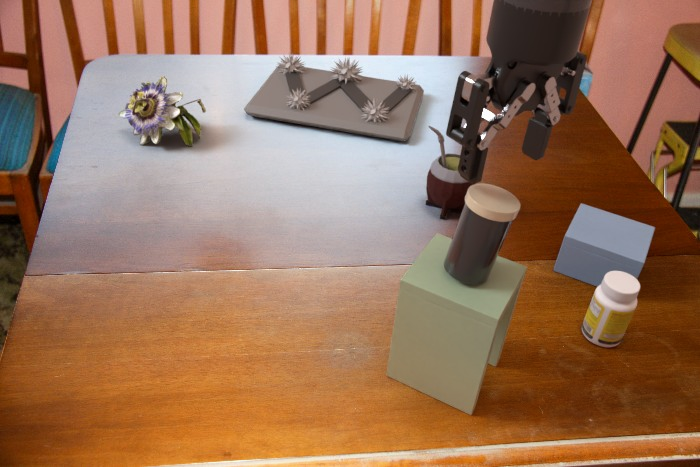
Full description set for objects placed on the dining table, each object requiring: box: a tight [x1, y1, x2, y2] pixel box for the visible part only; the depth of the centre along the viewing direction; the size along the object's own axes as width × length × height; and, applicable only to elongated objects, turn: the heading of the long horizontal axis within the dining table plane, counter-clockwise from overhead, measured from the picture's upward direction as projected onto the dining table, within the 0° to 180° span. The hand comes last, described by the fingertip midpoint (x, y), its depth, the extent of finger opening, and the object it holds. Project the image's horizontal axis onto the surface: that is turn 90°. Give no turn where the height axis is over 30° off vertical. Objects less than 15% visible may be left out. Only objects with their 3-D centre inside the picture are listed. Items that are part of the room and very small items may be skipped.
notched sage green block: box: [385, 233, 528, 416], centre depth 69 cm, size 10×9×14 cm
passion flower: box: [118, 75, 207, 147], centre depth 108 cm, size 11×11×12 cm
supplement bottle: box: [581, 271, 641, 348], centre depth 76 cm, size 5×5×8 cm
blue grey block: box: [553, 203, 656, 288], centre depth 88 cm, size 10×9×6 cm
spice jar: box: [444, 182, 521, 285], centre depth 62 cm, size 5×5×8 cm
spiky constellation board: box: [243, 53, 425, 142], centre depth 121 cm, size 30×22×7 cm
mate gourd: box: [425, 125, 474, 221], centre depth 93 cm, size 8×8×15 cm
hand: (501, 167), depth 62 cm, fingers open, 8 cm apart
